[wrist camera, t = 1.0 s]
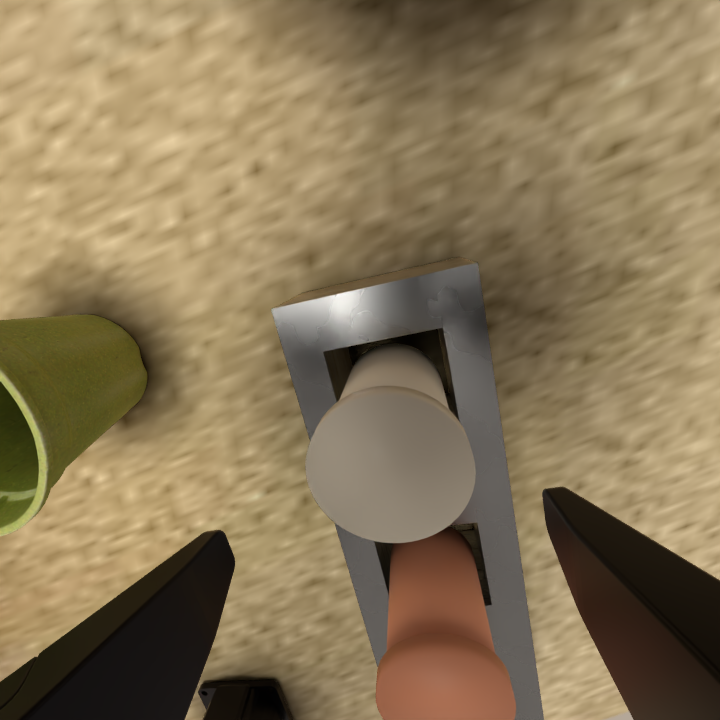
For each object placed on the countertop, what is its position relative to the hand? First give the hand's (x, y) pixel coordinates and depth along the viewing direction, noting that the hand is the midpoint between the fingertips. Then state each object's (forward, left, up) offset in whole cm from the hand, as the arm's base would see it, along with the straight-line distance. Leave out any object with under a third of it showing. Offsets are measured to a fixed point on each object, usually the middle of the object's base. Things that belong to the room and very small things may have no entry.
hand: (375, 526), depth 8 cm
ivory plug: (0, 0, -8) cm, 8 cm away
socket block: (-9, 0, -13) cm, 15 cm away
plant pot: (+3, +17, -13) cm, 21 cm away
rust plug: (-9, 0, -8) cm, 12 cm away
